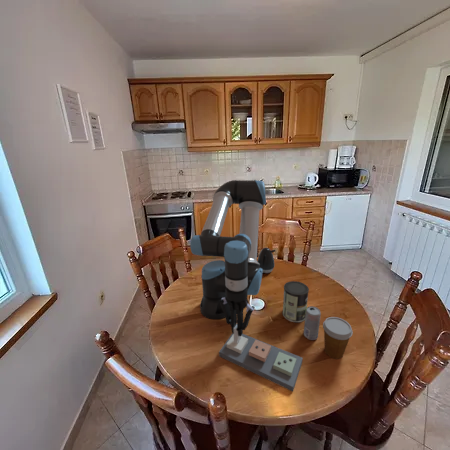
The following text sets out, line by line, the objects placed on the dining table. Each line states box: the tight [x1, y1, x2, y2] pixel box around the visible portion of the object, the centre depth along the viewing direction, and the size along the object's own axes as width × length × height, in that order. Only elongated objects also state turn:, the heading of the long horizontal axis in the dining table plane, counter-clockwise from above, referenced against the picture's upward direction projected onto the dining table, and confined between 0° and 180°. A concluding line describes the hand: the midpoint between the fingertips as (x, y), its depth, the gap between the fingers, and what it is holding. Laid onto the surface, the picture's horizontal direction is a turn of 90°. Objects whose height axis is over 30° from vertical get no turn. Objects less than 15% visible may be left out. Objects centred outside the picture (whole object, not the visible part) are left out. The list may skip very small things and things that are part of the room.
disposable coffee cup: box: [322, 316, 354, 360], centre depth 85 cm, size 10×10×12 cm
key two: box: [249, 339, 271, 362], centre depth 84 cm, size 6×6×4 cm
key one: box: [226, 334, 248, 354], centre depth 89 cm, size 6×6×4 cm
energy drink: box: [303, 305, 322, 341], centre depth 93 cm, size 5×5×12 cm
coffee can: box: [282, 280, 310, 323], centre depth 104 cm, size 10×10×14 cm
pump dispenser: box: [257, 247, 276, 274], centre depth 140 cm, size 10×10×15 cm
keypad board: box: [218, 332, 303, 392], centre depth 85 cm, size 27×12×2 cm, turn 60°
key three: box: [273, 352, 296, 376], centre depth 80 cm, size 6×6×4 cm
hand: (237, 340), depth 88 cm, fingers closed
